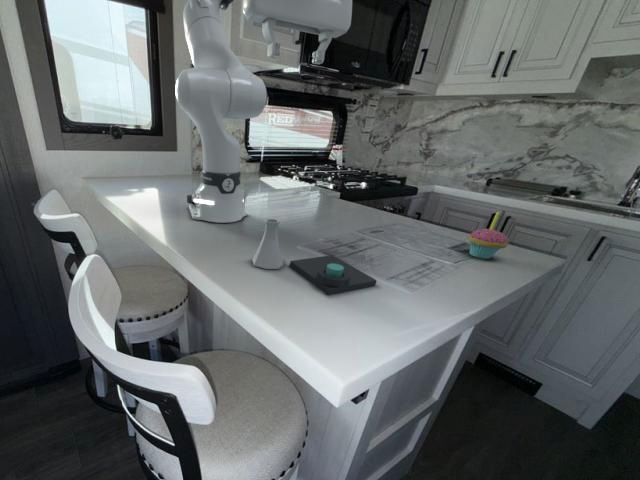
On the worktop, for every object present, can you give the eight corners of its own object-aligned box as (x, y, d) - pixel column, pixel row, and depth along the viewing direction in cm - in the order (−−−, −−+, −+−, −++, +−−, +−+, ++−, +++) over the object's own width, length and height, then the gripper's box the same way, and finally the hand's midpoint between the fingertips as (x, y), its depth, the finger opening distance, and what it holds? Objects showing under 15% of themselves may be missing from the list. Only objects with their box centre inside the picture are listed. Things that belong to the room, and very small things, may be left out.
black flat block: (289, 266, 69) (291, 254, 68) (331, 260, 74) (334, 248, 72) (328, 296, 58) (331, 282, 57) (375, 286, 63) (379, 273, 61)
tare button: (322, 272, 61) (323, 264, 60) (334, 270, 62) (336, 262, 61) (332, 279, 59) (334, 271, 58) (345, 277, 60) (347, 268, 59)
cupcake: (458, 247, 86) (477, 204, 80) (493, 253, 84) (515, 209, 78) (466, 258, 79) (488, 212, 73) (504, 264, 77) (530, 217, 71)
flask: (282, 272, 66) (288, 227, 61) (249, 267, 68) (252, 223, 62) (284, 259, 73) (290, 217, 67) (254, 255, 74) (258, 214, 69)
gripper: (341, -22, 56) (331, 71, 61) (238, -52, 48) (238, 57, 54) (367, -41, 50) (353, 62, 56) (256, -77, 43) (254, 46, 49)
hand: (296, 60), depth 55 cm, fingers open, 8 cm apart
